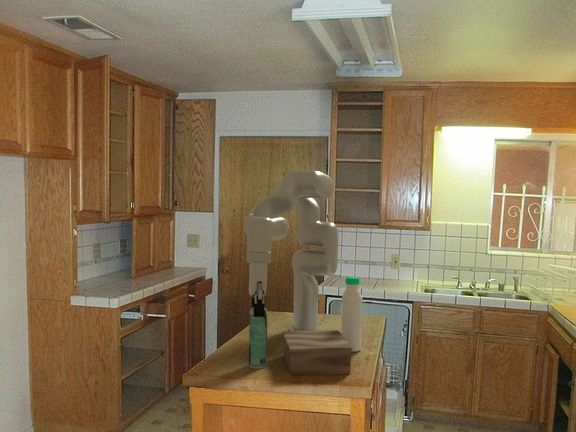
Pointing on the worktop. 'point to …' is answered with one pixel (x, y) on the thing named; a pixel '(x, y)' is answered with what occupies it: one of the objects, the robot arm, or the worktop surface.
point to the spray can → (257, 340)
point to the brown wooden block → (316, 352)
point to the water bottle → (352, 313)
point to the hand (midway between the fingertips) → (257, 313)
